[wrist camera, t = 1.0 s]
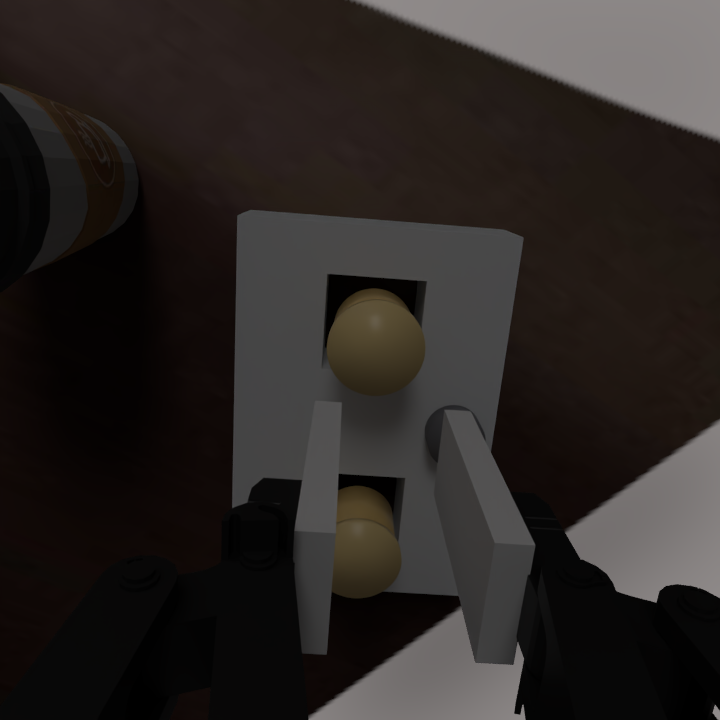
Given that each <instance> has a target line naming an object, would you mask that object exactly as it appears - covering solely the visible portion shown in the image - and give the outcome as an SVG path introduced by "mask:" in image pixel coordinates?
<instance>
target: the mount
mask: <svg viewBox="0 0 720 720" xmlns="http://www.w3.org/2000/svg"><path fill="white" fill-rule="evenodd" d="M522 245H523V237H521V236H518V235H516V234H514V233H511V232H509V231H506V230H502V229H489V228H476V227H463V226H450V225H437V224H425V223H412V222H399V221H386V220H373V219H361V218H348V217H335V216H322V215H309V214H296V213H284V212H271V211H258V210H249V211H247V212H244V213H242V214H240V215H238V216H237V272H236V327H235V383H234V439H233V495H232V508H233V507H236V506H239V505H242V504H245V503H247V502H248V498H249V495H250V491H251V488H252V487H253V486H254V485H256V484H257V483H258V482H259V481H260V480H261V479H263V478H278V479H293V480H302V479H303V473H304V467H305V461H306V454H307V448H308V442H309V436H310V430H311V423H312V417H313V411H314V405H315V401H327V402H342V410H341V431H340V453H339V474H351V475H367V476H382V477H397V481H396V490H395V500H394V509H393V523H394V532H395V537H396V539H397V541H398V543H399V546H400V550H401V558H402V562H401V569H400V572H399V574H398V576H397V578H396V579H395V581H394V582H393V583H392V584H391V585H390V586H389V587H388V588H387V589H386V590H384V592H401V593H419V594H436V595H453V596H459V595H458V591H457V587H456V582H455V578H454V574H453V570H452V566H451V562H450V558H449V554H448V550H447V546H446V542H445V538H444V534H443V530H442V526H441V522H440V518H439V514H438V510H437V506H436V502H435V497H434V488H435V480H436V472H437V464H438V457H439V449H440V441H441V433H442V425H443V417H444V409H445V410H460V411H471V413H472V415H473V417H474V419H475V421H476V423H477V425H478V427H479V429H480V431H481V433H482V436H483V438H484V440H485V442H486V444H487V446H488V448H489V450H490V452H491V447H492V440H493V434H494V427H495V421H496V414H497V408H498V401H499V395H500V388H501V382H502V375H503V368H504V362H505V355H506V349H507V342H508V336H509V329H510V323H511V316H512V310H513V303H514V297H515V290H516V284H517V277H518V271H519V264H520V258H521V251H522ZM329 274H337V275H351V276H364V277H377V278H391V279H404V280H417V281H418V282H417V291H416V301H415V310H414V317H415V319H416V320H417V321H418V323H419V325H420V327H421V329H422V332H423V335H424V339H425V346H426V348H425V357H424V361H423V364H422V367H421V369H420V371H419V372H418V374H417V375H416V377H415V378H414V379H413V380H412V381H411V382H410V383H409V384H408V385H407V386H405V387H404V388H402V389H401V390H399V391H397V392H394V393H391V394H388V395H382V396H369V395H364V394H360V393H357V392H355V391H353V390H351V389H349V388H348V387H346V386H345V385H343V384H342V383H341V382H340V381H339V380H338V378H337V377H336V376H335V375H334V373H333V371H332V369H331V367H330V365H329V361H328V357H327V348H325V335H326V319H327V303H328V287H329Z"/></svg>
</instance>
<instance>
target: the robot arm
mask: <svg viewBox="0 0 720 720" xmlns="http://www.w3.org/2000/svg"><path fill="white" fill-rule="evenodd" d="M341 410H342V402H327V401H315V405H314V411H313V417H312V423H311V430H310V436H309V442H308V448H307V454H306V461H305V467H304V473H303V479H302V480H293V479H278V478H263V479H261V480H260V481H259V482H258V483H257V484H256V485H254V486H253V487H252V488H251V491H250V495H249V498H248V502H247V503H245V504H242V505H239V506H236V507H233V508H232V509H231V510H229V511H228V512H227V513H226V514H225V516H224V518H223V520H222V556H221V563H219V564H218V565H216V566H214V567H211V568H209V569H206V570H203V571H198V572H194V573H187V574H181V575H178V572H177V569H176V567H175V565H174V564H173V563H171V562H170V561H169V560H167V559H165V558H161V557H157V556H135V557H131V558H127V559H123V560H121V561H119V562H117V563H115V564H113V565H111V566H110V567H109V568H108V569H107V570H106V571H105V572H103V573H102V575H101V576H100V577H99V578H98V580H97V581H96V582H95V584H94V585H93V586H92V588H91V589H90V590H89V591H88V593H87V594H86V595H85V597H84V598H83V599H82V601H81V602H80V603H79V604H78V606H77V607H76V608H75V610H74V611H73V612H72V614H71V615H70V616H69V617H68V619H67V620H66V621H65V623H64V624H63V625H62V627H61V628H60V629H59V630H58V632H57V633H56V634H55V636H54V637H53V638H52V640H51V641H50V642H49V643H48V645H47V646H46V647H45V649H44V650H43V651H42V653H41V654H40V655H39V657H38V658H37V659H36V660H35V662H34V663H33V664H32V666H31V667H30V668H29V670H28V671H27V672H26V673H25V675H24V676H23V677H22V679H21V680H20V681H19V683H18V684H17V685H16V686H15V688H14V689H13V690H12V692H11V693H10V694H9V696H8V697H7V698H6V699H5V701H4V702H3V703H2V705H1V706H0V720H169V719H170V717H171V715H172V712H173V710H174V708H175V705H176V703H177V700H178V695H179V694H181V693H185V692H190V691H194V690H199V689H203V688H208V687H211V692H210V704H209V716H208V720H308V711H307V700H306V690H305V680H304V669H303V659H302V653H307V654H325V655H327V644H328V630H329V617H330V604H331V590H332V577H333V564H334V550H335V537H336V518H337V496H338V475H339V453H340V431H341ZM434 497H435V502H436V506H437V510H438V514H439V518H440V522H441V526H442V530H443V534H444V538H445V542H446V546H447V550H448V554H449V558H450V562H451V566H452V570H453V574H454V578H455V582H456V587H457V591H458V595H459V599H460V603H461V607H462V611H463V615H464V619H465V623H466V627H467V631H468V635H469V639H470V643H471V647H472V651H473V655H474V659H475V662H476V663H493V664H510V665H513V664H514V658H515V653H516V647H517V642H519V645H520V648H521V651H522V654H523V657H524V664H523V669H522V674H521V678H520V684H519V689H518V694H517V699H516V706H515V712H514V713H515V714H520V713H521V708H522V705H523V704H524V711H525V718H526V720H717V718H716V717H715V716H714V714H713V713H712V712H713V709H714V706H715V705H716V706H717V707H718V709H719V710H720V598H718V597H716V596H714V595H713V594H711V593H709V592H707V591H705V590H703V589H700V588H699V589H698V588H697V587H693V586H686V585H678V584H677V585H670V586H666V587H664V588H663V589H662V590H660V592H659V595H658V599H657V603H655V602H651V601H647V600H643V599H640V598H635V597H632V596H628V595H625V594H622V593H619V592H617V591H616V590H615V587H614V585H613V583H612V581H611V580H610V578H609V577H608V575H607V574H606V573H605V572H603V571H602V570H601V569H599V568H598V567H597V566H595V565H593V564H590V563H588V562H586V561H584V560H580V558H579V556H578V554H577V553H576V551H575V549H574V547H573V546H572V544H571V542H570V541H569V539H568V537H567V535H566V534H565V532H564V531H563V530H562V527H561V525H560V523H559V522H558V520H556V516H555V515H554V513H553V511H552V510H551V508H550V506H549V505H548V504H547V503H546V502H545V501H543V500H542V499H541V498H539V497H538V496H537V495H536V494H534V493H522V492H509V489H508V487H507V485H506V483H505V481H504V479H503V477H502V475H501V473H500V471H499V469H498V467H497V465H496V463H495V460H494V458H493V456H492V454H491V452H490V450H489V448H488V446H487V444H486V442H485V440H484V438H483V436H482V433H481V431H480V429H479V427H478V425H477V423H476V421H475V419H474V417H473V415H472V413H471V411H460V410H445V409H444V417H443V425H442V433H441V441H440V449H439V457H438V464H437V472H436V480H435V488H434Z"/></svg>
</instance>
